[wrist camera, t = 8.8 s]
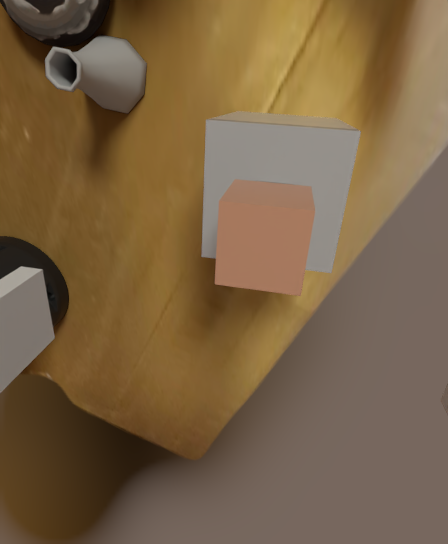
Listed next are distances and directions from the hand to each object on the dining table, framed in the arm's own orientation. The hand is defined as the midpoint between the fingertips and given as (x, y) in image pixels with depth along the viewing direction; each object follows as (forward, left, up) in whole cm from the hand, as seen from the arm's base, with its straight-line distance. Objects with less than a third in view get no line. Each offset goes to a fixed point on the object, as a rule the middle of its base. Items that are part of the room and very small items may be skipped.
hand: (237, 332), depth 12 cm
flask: (-6, +19, -32) cm, 38 cm away
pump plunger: (0, 0, -27) cm, 27 cm away
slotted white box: (0, 0, -32) cm, 32 cm away
